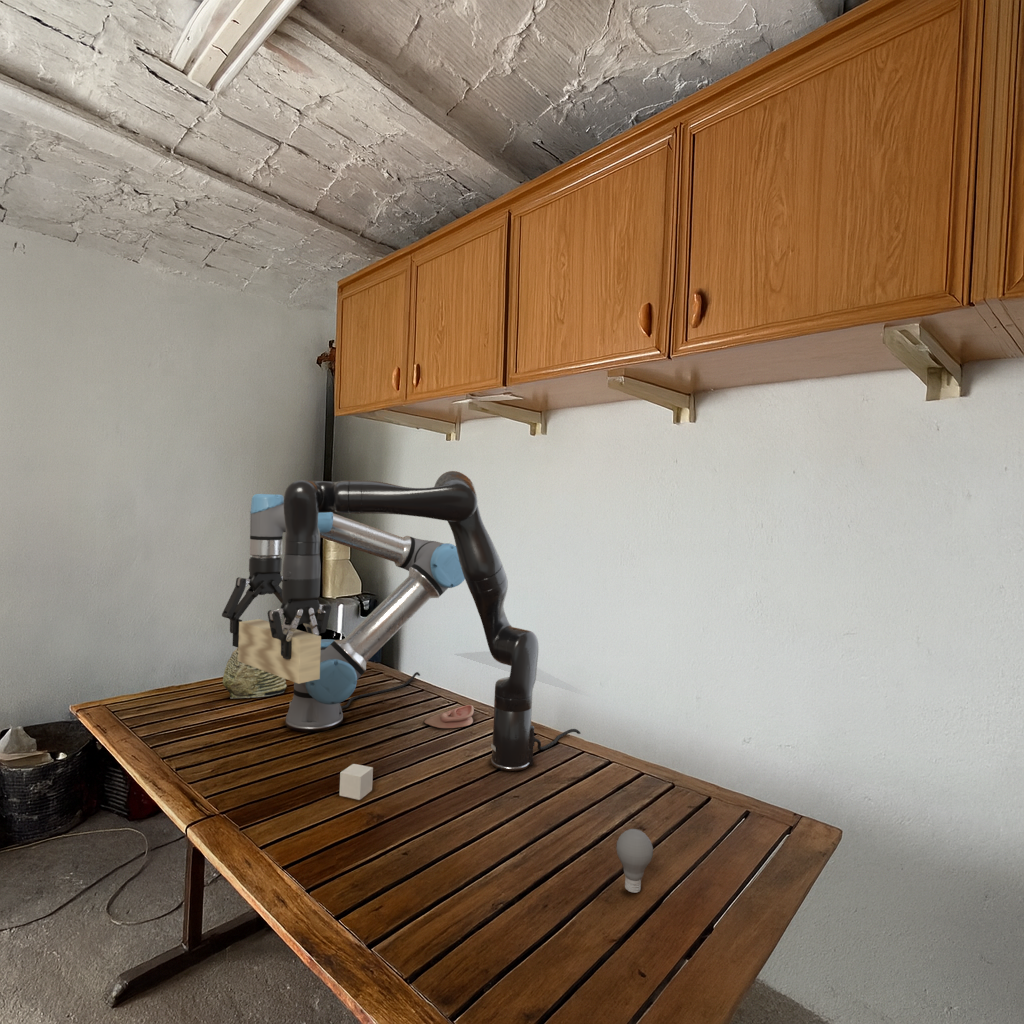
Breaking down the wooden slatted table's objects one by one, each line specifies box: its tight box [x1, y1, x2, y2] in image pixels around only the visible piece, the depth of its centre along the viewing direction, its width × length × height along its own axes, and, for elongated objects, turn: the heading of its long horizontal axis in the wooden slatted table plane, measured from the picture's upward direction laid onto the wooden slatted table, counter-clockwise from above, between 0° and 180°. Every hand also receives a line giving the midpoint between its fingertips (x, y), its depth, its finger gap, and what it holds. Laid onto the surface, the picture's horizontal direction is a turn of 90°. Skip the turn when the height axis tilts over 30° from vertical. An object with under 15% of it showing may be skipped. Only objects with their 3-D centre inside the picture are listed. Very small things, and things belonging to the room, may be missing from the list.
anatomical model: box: [424, 704, 475, 729], centre depth 181 cm, size 13×4×12 cm
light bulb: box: [615, 828, 654, 894], centre depth 106 cm, size 6×6×10 cm
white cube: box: [338, 763, 374, 801], centre depth 136 cm, size 5×5×5 cm
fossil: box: [222, 647, 288, 699], centre depth 198 cm, size 9×18×15 cm, turn 132°
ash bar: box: [237, 618, 322, 684], centre depth 138 cm, size 24×5×9 cm, turn 52°
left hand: (263, 642), depth 156 cm, fingers open, 13 cm apart
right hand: (298, 655), depth 133 cm, fingers closed on ash bar, 5 cm apart
